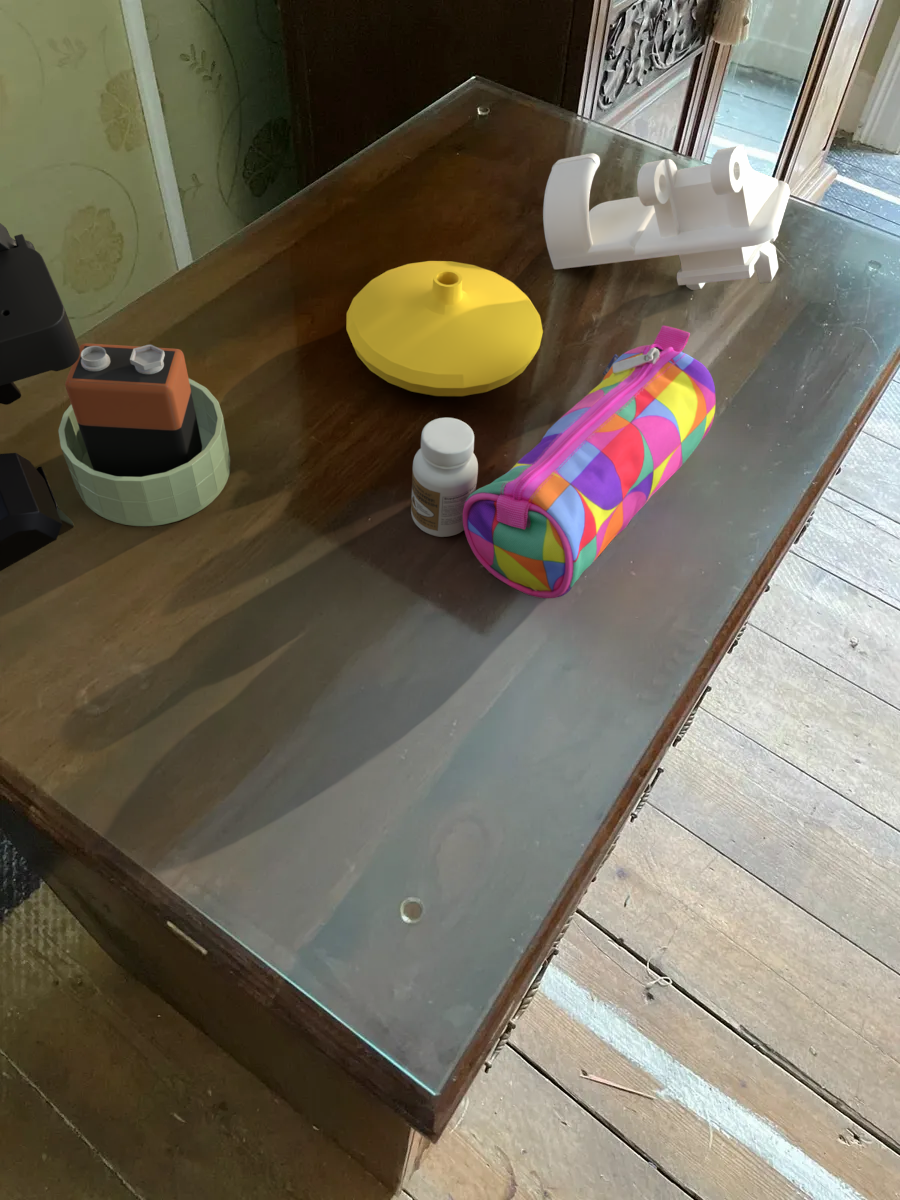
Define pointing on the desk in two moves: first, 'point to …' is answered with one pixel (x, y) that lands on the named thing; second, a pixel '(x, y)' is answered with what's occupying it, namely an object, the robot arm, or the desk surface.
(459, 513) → the pill bottle
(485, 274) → the vase
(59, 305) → the robot arm
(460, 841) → the desk surface
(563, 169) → the tape dispenser
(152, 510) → the bowl
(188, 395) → the battery
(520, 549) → the pencil case
